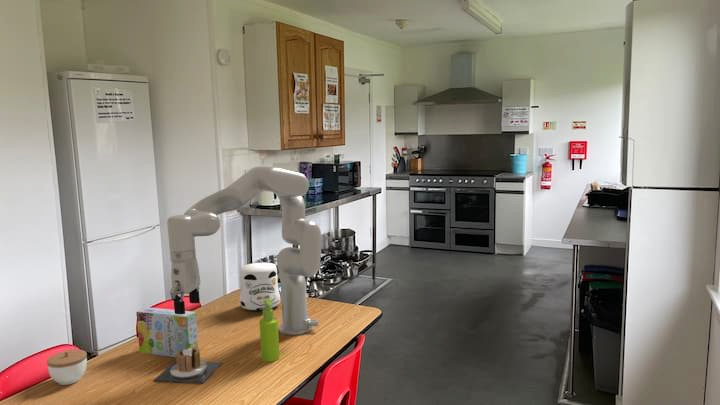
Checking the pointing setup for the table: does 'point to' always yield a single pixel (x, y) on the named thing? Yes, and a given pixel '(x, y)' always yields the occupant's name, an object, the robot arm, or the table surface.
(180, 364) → the ring
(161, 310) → the snack box
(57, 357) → the lidded jar
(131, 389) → the table surface
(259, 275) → the milk container
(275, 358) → the soap dispenser
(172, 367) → the grey peg stand
